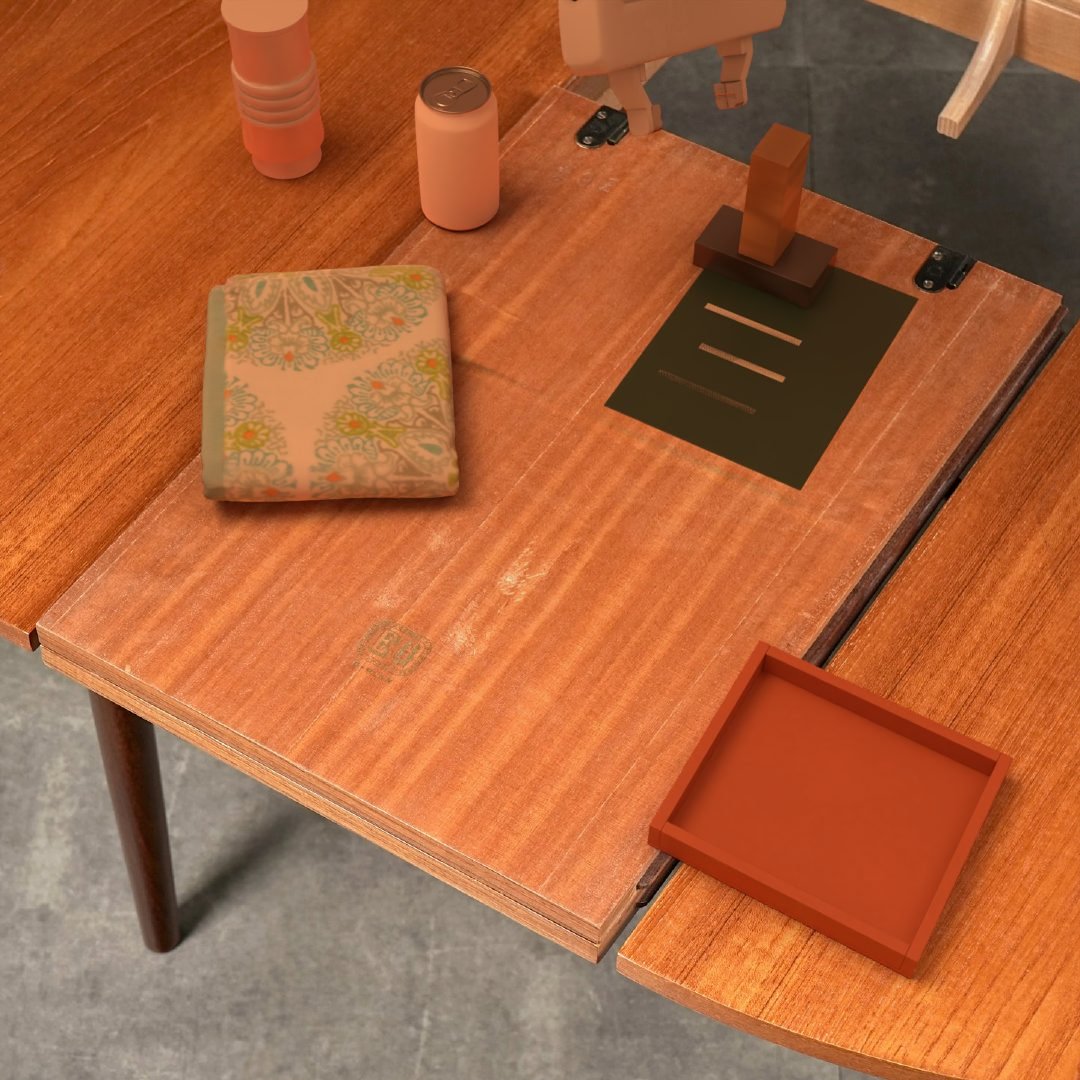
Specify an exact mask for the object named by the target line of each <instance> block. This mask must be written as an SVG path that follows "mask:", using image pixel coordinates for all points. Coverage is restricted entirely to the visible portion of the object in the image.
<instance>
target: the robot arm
mask: <svg viewBox="0 0 1080 1080" xmlns="http://www.w3.org/2000/svg"><path fill="white" fill-rule="evenodd" d="M557 8H558V9H557V11H558V27H559V39H560V47H561V55H562V59H563V63H564V64H565V65H566V67H567V68H568V70H569V71H570V72H571V73H572V74H573V75H574V76H576V77H584V76H586V77H587V76H596V75H603V74H607V77H608V83H609V88H610V90H611V91H612V92H613V94H614V96H615V97H616V99H617V100H618V102H619V103H620V105H621V106H622V108H623V109H624V111H626V116H627V123H628V130H629V132H630V134H631V135H632V136H633V137H644V136H649V135H652V134H655V133H658V132H660V131H662V130H663V127H664V123H663V122H664V121H663V120H662V108H661V104H659V103H658V104H652V102H651V100H650V98H649V96H648V93H647V92H646V90H645V87H644V85H643V84H642V83H644V82H646V81H647V79H648V77H647V70H646V64H648V63H651V62H655V61H659V60H664V59H666V58H670V57H674V56H678V55H682V54H685V53H689V52H693V51H697V50H701V49H705V48H709V47H712V46H715V45H716V51H717V56H718V57H719V58H721V57H722V63H721V71H720V79H719V82H718V83H715V84H713V85H712V86H713V94H714V96H715V101H714V102H715V106H716V107H717V109H719V110H720V111H721V110H723V111H724V110H733V109H736V108H740V107H743V106H745V105H746V104H748V101H749V99H748V98H749V97H748V96H749V95H748V90H747V81H746V80H747V78H748V74H749V71H750V67H751V63H752V59H753V56H754V45H753V38H752V37H753V35H758V34H761V33H766V32H769V31H772V30H777V29H778V28H780V27H781V25H782V22H783V19H784V16H785V13H786V9H787V0H557Z"/></svg>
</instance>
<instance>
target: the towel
mask: <svg viewBox="0 0 1080 1080" xmlns="http://www.w3.org/2000/svg"><path fill="white" fill-rule="evenodd" d="M443 276H444V275H443V271H440V270H438V268H436V267H435V266H434V267H433V266H429V265H423V264H390V265H370V266H358V267H357V266H356V267H345V268H344V267H343V268H322V269H310V270H302V271H301V270H300V271H273V272H258V273H257V272H256V273H251V272H250V273H237V274H234V275H232V276H230V277H227V279H226V281H225V284H217V285H214V286H212V287H211V288H210V290H209V293H208V298H207V307H206V308H207V309H206V334H205V335H206V336H205V354H204V363H203V365H204V366H203V374H202V375H203V376H202V393H201V394H202V395H201V396H202V397H201V415H202V416H201V447H200V457H201V463H202V471H201V475H200V476H201V482H202V485H203V493H202V495H203V497H204V498H205V499H206V500H209V501H221V502H222V501H223V502H225V501H228V502H243V503H256V502H258V503H261V502H262V503H263V502H266V503H267V502H272V503H273V502H300V501H301V502H302V501H321V500H342V499H366V498H368V499H371V498H376V499H385V498H386V499H434V498H443V497H451V496H452V497H453V496H455V495H456V494H457V493H458V490H459V488H460V480H459V476H460V468H459V465H458V459H459V458H458V457H459V456H458V455H459V454H458V452H457V450H456V446H455V444H456V442H455V441H456V425H455V409H454V408H455V407H454V386H453V366H452V365H453V364H452V348H451V345H452V344H451V330H450V319H449V309H448V297H447V290H446V288H447V287H446V280H445V278H444V277H443Z"/></svg>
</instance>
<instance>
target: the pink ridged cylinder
mask: <svg viewBox="0 0 1080 1080" xmlns="http://www.w3.org/2000/svg"><path fill="white" fill-rule="evenodd" d="M309 5H310V4H309V0H221V4H220V12H221V18H222V20H223V22H224V23H225V24H226V27H227V33H228V39H229V45H230V50H231V56H232V58H231V61H230V66H229V68H230V74H231V81H232V85H233V91H234V92H233V93H234V98H235V105H236V109H237V113H238V115H239V116H240V118H241V125H242V126H241V127H242V140H243V145H244V147H245V149H246V150H247V152H248V153H249V154H250V155H251V162H252V163H251V164H252V165H253V167H254V168H255V170H256V171H257V172H259V173H260V174H261V175H263V176H266V177H267V178H271V179H275V180H293V179H298V178H300V177H301V178H302V177H303V176H306V175H307V174H310V173H311V172H313V171H314V170H315V169H316V168H317V167H318V166H319V164H320V162H321V160H322V157H323V152H322V147H321V146H322V144H323V142H324V140H325V134H326V133H325V128H324V125H323V122H322V116H321V112H320V109H321V104H322V95H321V92H320V89H321V87H320V82H319V73H318V69H317V68H318V64H317V59H316V55H315V54H314V52H313V50H312V47H311V42H310V33H309V26H308V24H309V23H308V13H309V9H310V6H309Z"/></svg>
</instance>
